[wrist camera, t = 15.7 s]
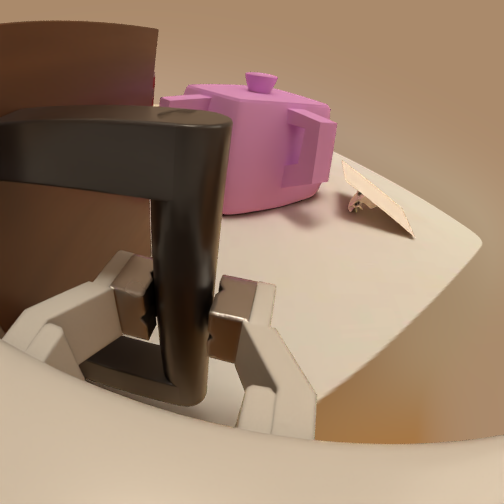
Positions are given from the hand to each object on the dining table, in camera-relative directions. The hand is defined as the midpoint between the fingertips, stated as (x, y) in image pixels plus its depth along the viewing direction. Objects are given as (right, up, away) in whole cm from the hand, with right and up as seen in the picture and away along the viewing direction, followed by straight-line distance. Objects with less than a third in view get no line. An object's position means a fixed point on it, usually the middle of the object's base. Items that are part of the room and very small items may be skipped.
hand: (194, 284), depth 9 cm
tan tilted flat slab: (+16, +7, +23) cm, 29 cm away
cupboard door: (-4, -4, +7) cm, 9 cm away
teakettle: (+1, +9, +26) cm, 28 cm away
